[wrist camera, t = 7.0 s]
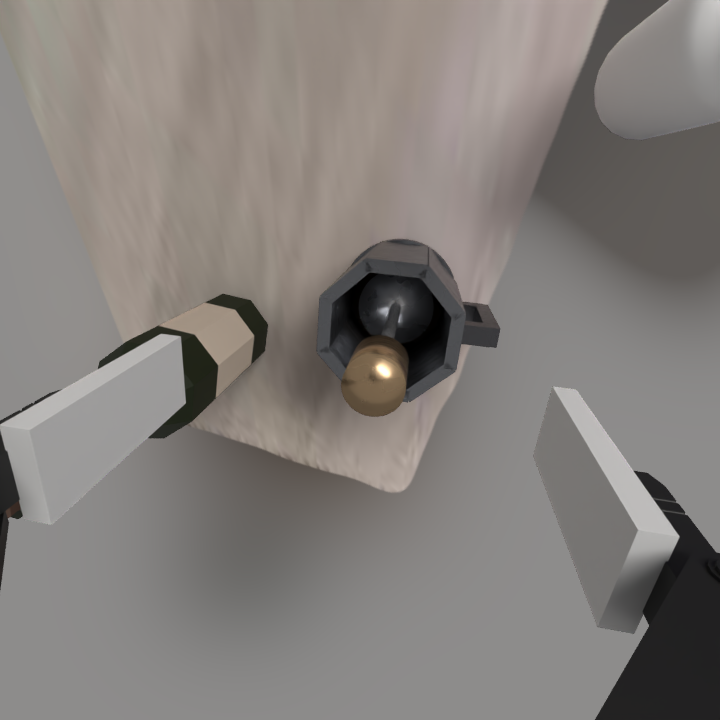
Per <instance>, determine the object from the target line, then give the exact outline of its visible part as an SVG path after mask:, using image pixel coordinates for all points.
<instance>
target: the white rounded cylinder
mask: <svg viewBox="0 0 720 720" xmlns="http://www.w3.org/2000/svg"><path fill="white" fill-rule="evenodd" d="M594 99H595V108H596V110H597V113H598V116H599V118H600V121H601V122H602V123H603V124H604V125H605V126H606V127H607V129H609V131H610V132H612V133H614V134H616V135H618V136H620V137H622V138H625V139H633V140H645V139H649V138H653V137H657V136H662V135H666V134H670V133H674V132H678V131H682V130H686V129H690V128H694V127H699V126H703V125H707V124H711V123H715V122H719V121H720V0H669V1H668V2H667V3H665V4H664V5H663V6H662V7H660V8H659V9H658V10H657V11H655V12H654V13H653V14H652V15H650V16H649V17H648V18H647V19H645V20H644V21H643V22H642V23H640V24H639V25H638V26H637V27H635V28H634V29H633V30H632V31H630V32H629V33H628V34H626V35H625V36H624V37H623V38H622V39H621V40H620V41H619V42H618V43H617V44H616V45H615V47H613V49H612V50H611V51H610V52H609V53H608V55H607V57H606V58H605V60H604V62H603V64H602V66H601V68H600V69H599V71H598V75H597V80H596V84H595V88H594Z"/></svg>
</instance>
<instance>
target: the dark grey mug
mask: <svg viewBox="0 0 720 720" xmlns="http://www.w3.org/2000/svg"><path fill="white" fill-rule="evenodd" d="M379 273H380V274H389V275H398V276H406V277H415V278H421V279H422V280H423V282H424V283H425V284H426V285H427V287H428V288H429V289H430V291H431V293H432V296H433V303H434V311H433V317H432V320H431V322H430V324H429V326H428V328H427V329H426V330H425V331H424V332H423V334H421V335H420V336H419V337H417V338H416V339H414V340H412V341H410V342H407V343H402V344H401V345H402V346H403V347H404V348H405V350H406V352H407V355H408V359H409V366H408V375H407V383H406V392H405V396H404V399H403V401H402V402H408V401H409V402H411V401H412V400H414V399H415V398H417V397H418V396H420V395H421V394H423V393H424V392H426V391H427V390H429V389H430V388H432V387H433V386H435V385H436V384H438V383H439V382H441V381H442V380H444V379H445V378H447V377H448V376H450V375H451V374H453V373H454V372H455V370H456V369H457V363H458V358H459V352H460V347H461V344H467V345H475V346H483V347H494V348H496V347H497V342H498V337H499V333H500V327H499V325H498V323H497V321H496V320H495V318H494V316H493V314H492V312H491V310H490V308H489V306H488V305H485V304H478V303H470V302H462V299H461V296H460V293H459V289H458V286H457V283H456V281H455V280H454V278H453V274H452V272H451V270H450V268H449V266H448V265H447V263H446V262H445V260H444V259H443V258H442V257H441V256H440V255H439V254H438V253H437V252H436V251H434V250H433V249H431V248H430V247H428V246H426V245H424V244H422V243H420V242H417V241H413V240H408V239H392V240H387V241H382V242H380V243H378V244H375V245H374V246H372V247H370V248H368V249H367V250H366V251H364V252H363V253H362V254H361V255H360V256H359V257H358V258H357V259H356V260H355V261H354V263H353V264H352V265H351V267H350V268H349V269H348V270H347V271H346V272H345V273H343V274H342V275H341V276H340V277H339V278H338V279H337V280H336V281H335V282H334V283H333V284H332V285H331V286H330V287H329V288H328V289H327V290H326V291H325V292H324V293H323V294H322V295H320V298H319V317H318V335H317V352H318V353H317V354H318V355H319V356H320V357H321V358H322V359H323V360H324V362H325V363H326V364H327V365H328V366H329V367H330V368H331V370H332V371H333V372H334V373H335V374H336V375H337V377H338V378H339V379H340V380H341V381H342V377H343V374H344V372H345V370H346V368H347V366H348V364H349V362H350V359H351V357H352V355H353V353H354V351H355V349H356V347H357V346H358V344H359V343H360V342H361V341H363V340H364V339H366V338H368V337H370V336H373V335H371V334H370V333H369V332H368V331H367V329H366V328H365V327H364V325H363V323H362V321H361V318H360V315H359V299H360V295H361V293H362V291H363V289H364V287H365V286H366V284H367V283H368V282H369V281H370V280H371V279H372V278H373V277H374V276H376V275H377V274H379Z"/></svg>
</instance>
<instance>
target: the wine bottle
mask: <svg viewBox="0 0 720 720" xmlns="http://www.w3.org/2000/svg"><path fill="white" fill-rule="evenodd" d="M267 329H268V324H267V322H266V321H265V320H264V318H263V317H262V315H261V314H260V313H259V311H258V310H257V309H256V307H255V306H254V304H253V303H252V302H251V300H247V299H242V298H238V297H234V296H230V295H225V294H222V295H220V296H218V297H216V298H214V299H212V300H210V301H207V302H205V303H203V304H201V305H199V306H197V307H195V308H193V309H191V310H189V311H187V312H185V313H183V314H181V315H179V316H177V317H175V318H173V319H171V320H169V321H167V322H165V323H163V324H161V325H159V326H157V327H155V328H153V329H151V330H149V331H147V332H145V333H143V334H141V335H139V336H137V337H135V338H133V339H131V340H129V341H127V342H125V343H124V344H123V345H121V346H120V347H119V348H117V349H116V350H115V351H113V352H112V353H110V354H109V355H108V356H107V357H105V358H104V359H102V360H101V361H100V362H99V366H98V369H99V368H101V367H103V366H105V365H107V364H108V363H110V362H112V361H114V360H115V359H117V358H119V357H121V356H123V355H124V354H126V353H128V352H130V351H131V350H133V349H135V348H137V347H138V346H140V345H142V344H144V343H146V342H147V341H149V340H151V339H153V338H154V337H156V336H158V335H160V334H167V335H174V336H181V345H182V358H183V371H184V384H185V398H186V404H185V405H183V406H182V407H181V408H180V409H179V410H178V411H177V412H176V413H175V414H174V415H172V416H171V417H170V418H169V419H168V420H167V421H166V422H165V423H164V424H162V425H161V426H160V427H159V428H158V429H157V430H156V431H155V432H154V433H153V434H151V435H150V436H149V437H148V438H165V437H167V436H169V435H170V434H172V433H174V432H175V431H177V430H178V429H180V428H182V427H183V426H185V425H187V424H188V423H190V422H192V421H193V420H194V419H195V418H196V417H197V416H198V415H199V414H200V413H201V412H202V411H203V410H204V409H205V408H206V407H207V406H208V405H209V404H210V403H211V402H212V401H213V400H214V399H216V398H217V397H218V396H219V395H220V394H221V393H222V392H223V391H224V390H225V389H226V388H227V387H228V386H229V385H230V384H231V383H232V382H233V381H234V380H235V379H236V378H237V377H238V376H239V375H240V374H241V373H242V372H243V371H244V370H245V369H247V368H248V367H249V366H250V365H251V364H252V363H253V362H254V361H255V360H256V359H257V358H258V357H259V356H260V355H261V354H262V353H263V352H264V351H265V345H266V337H267ZM6 514H7V518H9V517H12V518H16V519H19V518H21V517H22V516H23V514H22V511H21V507H20V503H19V501H18V502H16V503H15V504H14V505H12V506H11V507H10V508H9V509H7V510H6Z"/></svg>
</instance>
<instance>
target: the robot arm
mask: <svg viewBox="0 0 720 720" xmlns="http://www.w3.org/2000/svg"><path fill="white" fill-rule="evenodd" d="M185 404H186V398H185V384H184V371H183V358H182V345H181V336H174V335H167V334H160V335H158V336H156V337H154V338H153V339H151V340H149V341H147V342H146V343H144V344H142V345H140V346H138V347H137V348H135V349H133V350H131V351H130V352H128V353H126V354H124V355H123V356H121V357H119V358H117V359H115V360H114V361H112V362H110V363H108V364H107V365H105V366H103V367H101V368H99V369H98V370H96V371H94V372H92V373H91V374H89V375H87V376H85V377H84V378H82V379H80V380H78V381H76V382H75V383H73V384H71V385H69V386H68V387H66V388H64V389H61V390H58V391H55V392H52V393H49V394H47V395H46V396H44V397H42V398H40V399H39V400H37V401H35V403H34V404H33V403H31V404H29V405H28V406H26V407H24V408H22V411H17V412H15V413H13V414H12V415H10V416H8V417H6V418H4V419H3V420H1V421H0V587H1V580H2V572H3V565H4V556H5V549H6V541H7V533H8V525H9V522H8V518H7V514H6V510H7V509H9V508H10V507H11V506H12V505H14V504H15V503H16V502H18V501H19V503H20V507H21V511H22V514H23V518H24V520H29V521H34V522H39V523H44V524H50V525H52V524H53V523H54V522H55V521H56V520H57V519H59V518H60V517H61V516H62V515H63V514H64V513H65V512H66V511H67V510H68V509H70V508H71V507H72V506H73V505H74V504H75V503H76V502H77V501H78V500H80V499H81V498H82V497H83V496H84V495H85V494H86V493H87V492H88V491H90V490H91V489H92V488H93V487H94V486H95V485H96V484H97V483H98V482H99V481H101V480H102V479H103V478H104V477H105V476H106V475H107V474H108V473H109V472H111V470H113V469H114V468H115V467H116V466H117V465H118V464H119V463H121V462H122V461H123V460H124V459H125V458H126V457H127V456H128V455H129V454H130V453H132V452H133V451H134V450H135V449H136V448H137V447H138V446H139V445H140V444H141V443H142V442H144V441H145V440H146V439H147V438H148V437H149V436H150V435H151V434H153V433H154V432H155V431H156V430H157V429H158V428H159V427H160V426H161V425H162V424H164V423H165V422H166V421H167V420H168V419H169V418H170V417H171V416H172V415H174V414H175V413H176V412H177V411H178V410H179V409H180V408H181V407H182V406H183V405H185ZM533 457H534V459H535V462H536V465H537V467H538V470H539V473H540V475H541V478H542V481H543V483H544V486H545V489H546V491H547V494H548V496H549V499H550V502H551V504H552V507H553V510H554V513H555V515H556V518H557V520H558V523H559V526H560V528H561V531H562V534H563V536H564V539H565V542H566V544H567V547H568V550H569V552H570V555H571V558H572V560H573V563H574V566H575V568H576V571H577V574H578V576H579V579H580V582H581V584H582V587H583V590H584V592H585V595H586V598H587V600H588V603H589V605H590V608H591V611H592V614H593V616H594V619H595V622H596V624H597V627H600V628H605V629H611V630H616V631H621V632H627V633H632V634H634V633H635V631H636V629H637V626H638V625H639V622H640V620H641V618H642V616H643V614H644V616H645V618H646V620H647V622H648V624H649V627H648V629H647V631H646V633H645V635H644V636H643V638H642V640H641V641H640V643H639V645H638V647H637V648H636V650H635V652H634V653H633V655H632V657H631V659H630V660H629V662H628V664H627V665H626V667H625V669H624V671H623V672H622V674H621V676H620V678H619V679H618V681H617V683H616V685H615V686H614V688H613V690H612V691H611V693H610V695H609V696H608V698H607V700H606V702H605V703H604V705H603V707H602V708H601V710H600V712H599V714H598V715H597V717H596V719H595V720H720V553H716V552H715V550H714V549H713V548H712V546H711V545H710V544H709V543H708V541H707V540H706V539H705V537H704V536H703V535H702V534H701V532H700V531H699V530H698V528H697V527H696V526H695V524H694V523H693V522H692V521H691V519H690V518H689V517H688V516H687V515H685V511H684V510H683V509H682V508H681V506H680V505H679V504H678V503H676V500H675V498H674V497H673V496H672V495H671V493H670V492H669V491H668V489H667V488H666V487H665V486H664V485H663V484H661V483H660V482H659V481H657V480H656V479H655V478H653V477H652V476H651V475H649V474H648V473H645V472H638V471H633V470H632V468H631V467H630V466H629V464H628V463H627V461H626V460H625V458H624V457H623V456H622V454H621V453H620V451H619V450H618V448H617V447H616V446H615V444H614V443H613V441H612V440H611V438H610V437H609V436H608V434H607V433H606V431H605V430H604V428H603V427H602V426H601V424H600V423H599V421H598V420H597V419H596V417H595V416H594V414H593V413H592V412H591V410H590V409H589V407H588V406H587V404H586V403H585V402H584V400H583V399H582V397H581V396H580V394H579V393H578V391H577V390H575V389H567V388H560V387H552V390H551V394H550V397H549V401H548V404H547V408H546V412H545V415H544V419H543V422H542V426H541V429H540V433H539V437H538V440H537V444H536V447H535V451H534V455H533Z"/></svg>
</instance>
